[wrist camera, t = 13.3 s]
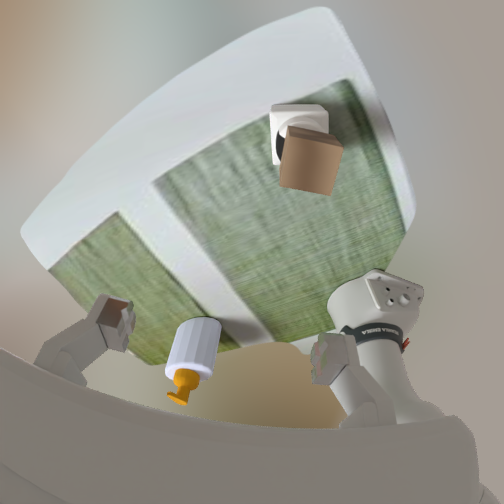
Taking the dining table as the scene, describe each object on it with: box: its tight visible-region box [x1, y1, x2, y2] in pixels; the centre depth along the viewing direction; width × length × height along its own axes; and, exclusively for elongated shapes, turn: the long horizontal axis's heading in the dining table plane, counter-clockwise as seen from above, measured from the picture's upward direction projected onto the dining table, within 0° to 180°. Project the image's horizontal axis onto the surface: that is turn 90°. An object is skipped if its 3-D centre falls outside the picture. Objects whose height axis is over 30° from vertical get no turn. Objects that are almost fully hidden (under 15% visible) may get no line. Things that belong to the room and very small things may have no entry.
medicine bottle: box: [270, 104, 329, 165], centre depth 34 cm, size 7×7×12 cm
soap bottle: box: [165, 317, 222, 405], centre depth 60 cm, size 13×8×20 cm, turn 126°
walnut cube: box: [279, 125, 344, 196], centre depth 27 cm, size 5×5×5 cm
